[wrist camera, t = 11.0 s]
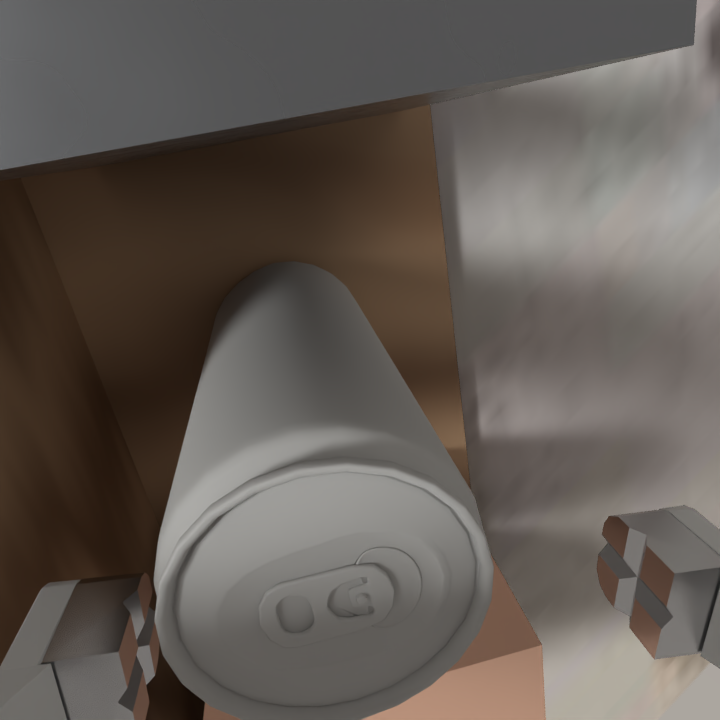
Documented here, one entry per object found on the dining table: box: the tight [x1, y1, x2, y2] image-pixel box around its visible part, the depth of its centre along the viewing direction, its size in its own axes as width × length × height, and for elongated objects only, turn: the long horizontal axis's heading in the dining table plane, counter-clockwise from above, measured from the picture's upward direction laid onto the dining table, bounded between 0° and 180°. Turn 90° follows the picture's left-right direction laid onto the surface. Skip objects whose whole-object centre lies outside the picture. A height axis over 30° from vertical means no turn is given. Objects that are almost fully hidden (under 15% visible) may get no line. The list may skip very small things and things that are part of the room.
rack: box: [0, 105, 471, 720], centre depth 15 cm, size 27×13×11 cm, turn 10°
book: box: [203, 555, 546, 720], centre depth 17 cm, size 3×8×9 cm, turn 100°
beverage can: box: [154, 261, 494, 720], centre depth 13 cm, size 5×5×12 cm
